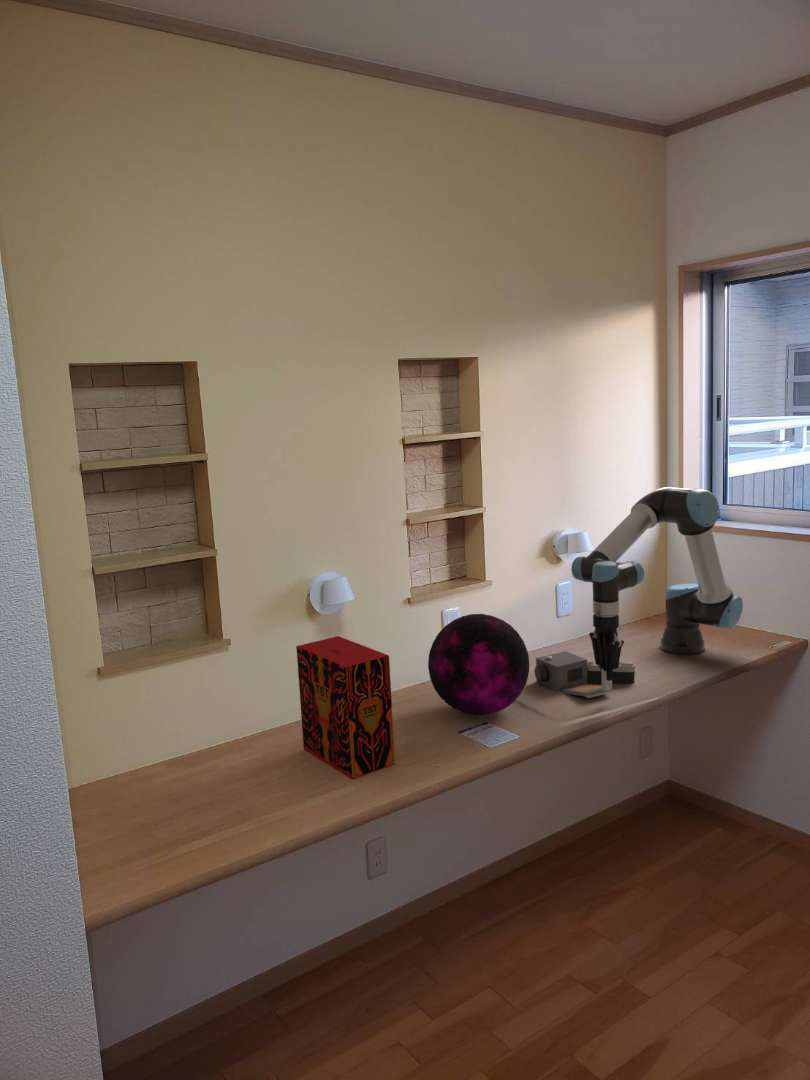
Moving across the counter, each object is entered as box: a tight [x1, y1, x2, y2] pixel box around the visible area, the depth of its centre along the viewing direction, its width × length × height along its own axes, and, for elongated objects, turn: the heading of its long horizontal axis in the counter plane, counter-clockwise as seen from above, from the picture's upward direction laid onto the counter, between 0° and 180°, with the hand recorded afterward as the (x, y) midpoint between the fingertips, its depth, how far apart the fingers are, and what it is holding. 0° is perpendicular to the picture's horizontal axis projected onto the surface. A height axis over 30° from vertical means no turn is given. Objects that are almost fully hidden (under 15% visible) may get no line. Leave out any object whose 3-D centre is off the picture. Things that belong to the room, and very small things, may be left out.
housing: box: [534, 651, 588, 692], centre depth 284 cm, size 14×11×10 cm
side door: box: [560, 683, 613, 699], centre depth 275 cm, size 10×2×13 cm
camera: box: [587, 660, 636, 685], centre depth 285 cm, size 16×9×10 cm, turn 83°
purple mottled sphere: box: [427, 613, 530, 716], centre depth 264 cm, size 30×30×30 cm
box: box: [295, 635, 396, 780], centre depth 236 cm, size 25×13×30 cm, turn 36°
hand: (606, 689), depth 266 cm, fingers closed
